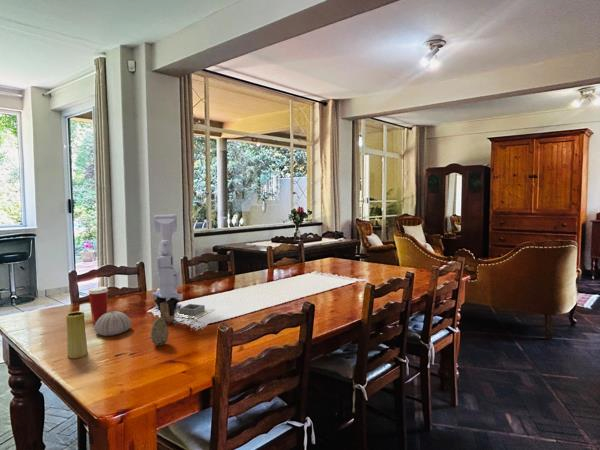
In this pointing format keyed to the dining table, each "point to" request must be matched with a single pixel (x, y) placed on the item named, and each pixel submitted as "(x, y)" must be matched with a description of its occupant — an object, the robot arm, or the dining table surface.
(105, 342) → the dining table surface
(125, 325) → the sea urchin shell
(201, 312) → the grey square socket
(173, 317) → the square peg
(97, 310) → the paper cup
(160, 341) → the decorative egg
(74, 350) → the vase
